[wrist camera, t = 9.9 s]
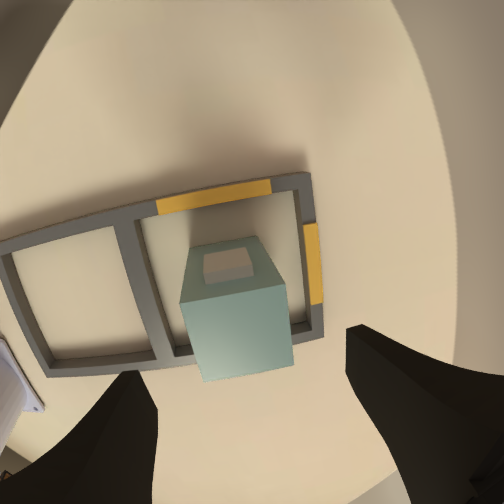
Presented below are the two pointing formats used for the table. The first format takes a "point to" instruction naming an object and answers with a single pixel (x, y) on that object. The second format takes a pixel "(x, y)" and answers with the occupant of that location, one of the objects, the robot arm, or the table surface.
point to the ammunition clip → (5, 475)
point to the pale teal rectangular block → (235, 310)
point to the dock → (143, 278)
